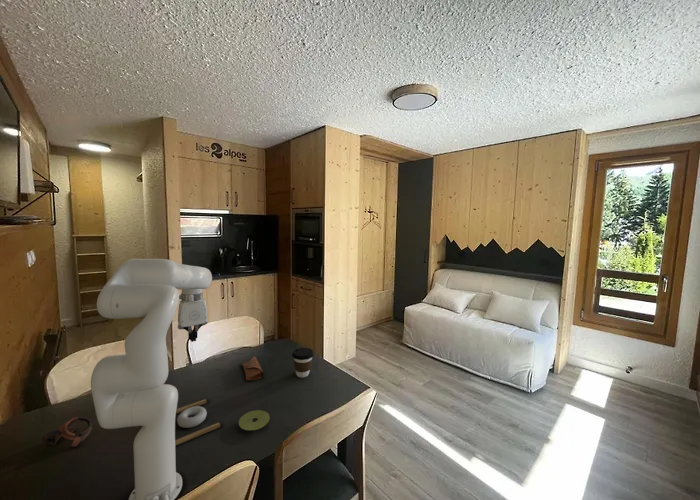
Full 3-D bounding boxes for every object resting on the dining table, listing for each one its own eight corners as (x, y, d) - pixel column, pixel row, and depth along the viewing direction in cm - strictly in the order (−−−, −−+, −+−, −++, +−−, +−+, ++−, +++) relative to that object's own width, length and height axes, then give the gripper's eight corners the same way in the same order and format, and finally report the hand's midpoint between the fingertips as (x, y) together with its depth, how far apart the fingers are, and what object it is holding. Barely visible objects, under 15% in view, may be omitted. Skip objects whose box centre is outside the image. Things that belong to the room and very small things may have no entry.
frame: (220, 427, 108) (220, 424, 108) (166, 449, 97) (166, 446, 97) (205, 401, 122) (205, 398, 122) (157, 418, 111) (157, 415, 111)
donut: (170, 428, 106) (195, 431, 105) (170, 419, 106) (195, 423, 105) (189, 411, 116) (212, 414, 115) (189, 403, 116) (212, 405, 114)
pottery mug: (82, 427, 106) (92, 410, 105) (87, 450, 101) (97, 432, 100) (35, 439, 95) (45, 420, 94) (39, 465, 91) (49, 445, 89)
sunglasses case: (239, 364, 153) (246, 352, 155) (251, 368, 157) (257, 356, 158) (246, 381, 138) (253, 368, 139) (259, 385, 141) (266, 372, 143)
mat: (248, 440, 102) (248, 434, 102) (233, 424, 110) (233, 419, 109) (275, 424, 111) (275, 419, 111) (259, 410, 118) (259, 406, 118)
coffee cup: (287, 378, 143) (288, 354, 142) (296, 367, 153) (297, 345, 152) (308, 381, 140) (309, 358, 139) (316, 370, 151) (317, 348, 150)
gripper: (172, 301, 109) (173, 348, 111) (214, 296, 119) (215, 339, 121) (169, 297, 115) (170, 341, 117) (209, 292, 125) (209, 333, 127)
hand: (193, 340), depth 119 cm, fingers closed
